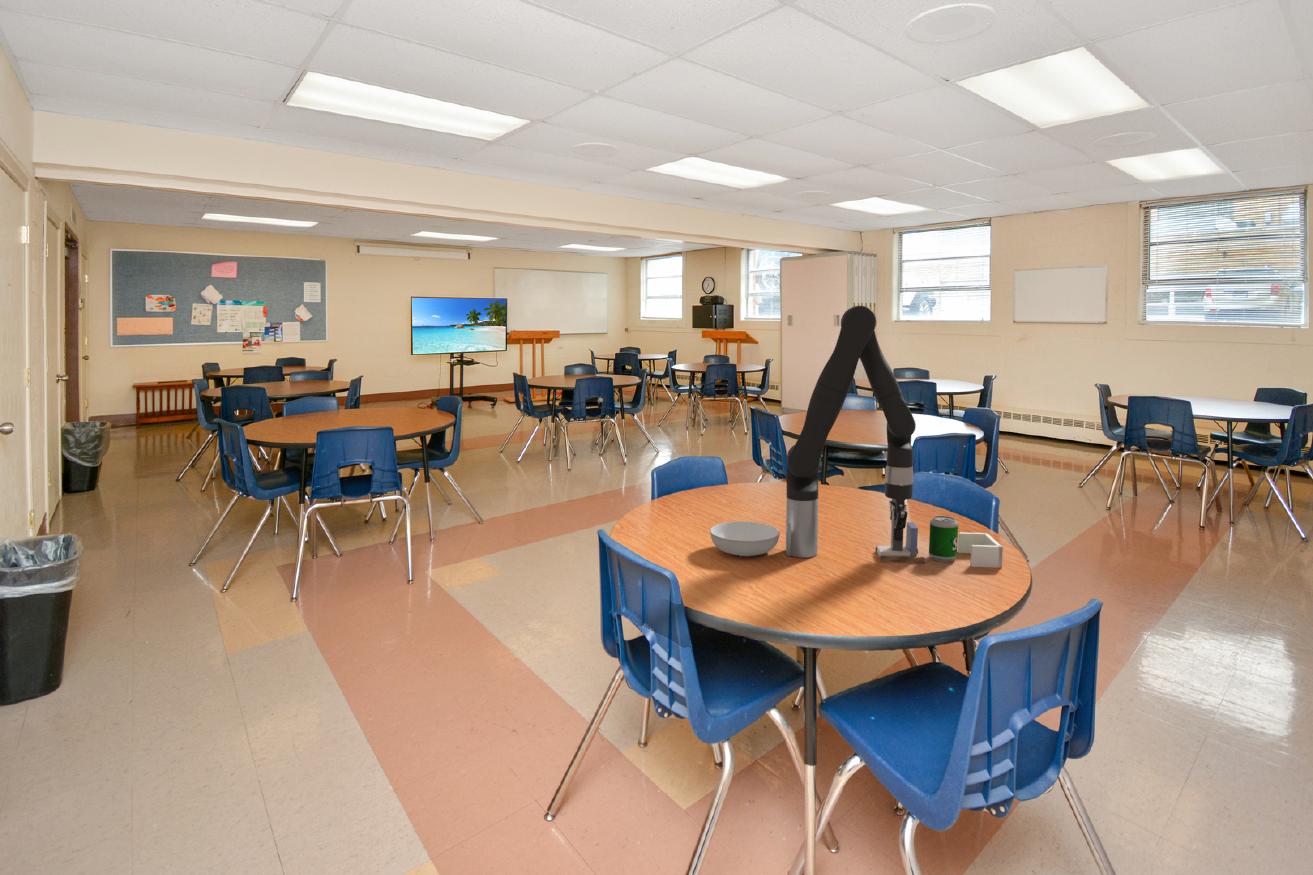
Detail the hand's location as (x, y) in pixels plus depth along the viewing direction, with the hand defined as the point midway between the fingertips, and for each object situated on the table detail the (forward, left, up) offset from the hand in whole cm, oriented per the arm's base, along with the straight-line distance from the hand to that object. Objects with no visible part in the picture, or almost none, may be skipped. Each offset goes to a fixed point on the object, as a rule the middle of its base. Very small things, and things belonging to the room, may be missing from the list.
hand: (897, 538), depth 195 cm
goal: (+23, 0, -6) cm, 23 cm away
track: (+1, 0, -6) cm, 6 cm away
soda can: (+13, 0, -6) cm, 14 cm away
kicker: (0, 0, -6) cm, 6 cm away
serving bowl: (-44, +1, -6) cm, 45 cm away
